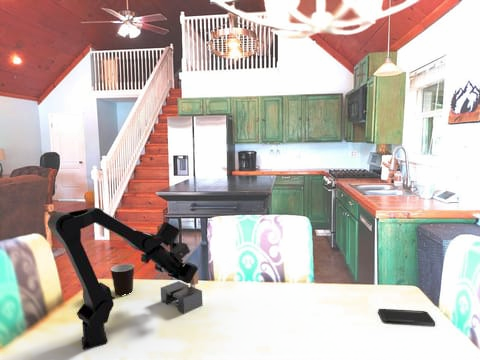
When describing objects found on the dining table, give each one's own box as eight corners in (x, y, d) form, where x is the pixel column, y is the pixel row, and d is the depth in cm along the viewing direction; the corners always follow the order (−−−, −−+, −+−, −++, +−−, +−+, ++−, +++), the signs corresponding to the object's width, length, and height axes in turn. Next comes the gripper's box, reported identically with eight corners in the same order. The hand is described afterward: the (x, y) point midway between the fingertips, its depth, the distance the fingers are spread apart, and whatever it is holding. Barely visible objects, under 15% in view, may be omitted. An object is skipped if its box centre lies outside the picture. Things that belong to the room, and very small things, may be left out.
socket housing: (184, 313, 111) (183, 298, 111) (161, 301, 121) (160, 287, 120) (202, 305, 117) (201, 290, 117) (179, 294, 126) (178, 281, 126)
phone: (377, 308, 110) (426, 311, 107) (377, 311, 110) (426, 314, 107) (383, 320, 102) (436, 323, 100) (383, 323, 102) (436, 327, 100)
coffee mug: (131, 297, 125) (129, 271, 124) (108, 297, 126) (106, 271, 125) (140, 284, 137) (139, 261, 136) (120, 285, 137) (118, 261, 136)
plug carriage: (180, 307, 115) (179, 277, 115) (172, 303, 119) (170, 273, 118) (201, 297, 122) (200, 269, 121) (193, 294, 126) (192, 266, 125)
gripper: (192, 241, 109) (218, 265, 118) (160, 233, 122) (185, 255, 131) (173, 272, 104) (201, 294, 113) (142, 259, 117) (170, 280, 126)
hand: (189, 279), depth 121 cm, fingers closed, pressing on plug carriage
